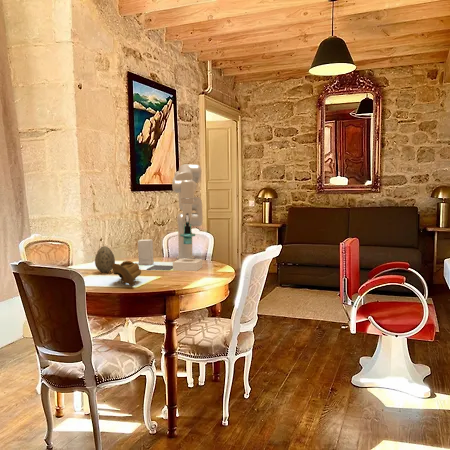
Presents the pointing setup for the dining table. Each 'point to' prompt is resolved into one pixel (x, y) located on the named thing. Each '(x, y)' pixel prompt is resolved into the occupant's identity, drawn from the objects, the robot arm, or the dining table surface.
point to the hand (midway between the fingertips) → (187, 232)
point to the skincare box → (145, 252)
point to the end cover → (187, 236)
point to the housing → (187, 264)
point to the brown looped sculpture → (127, 271)
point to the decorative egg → (104, 259)
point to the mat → (160, 267)
